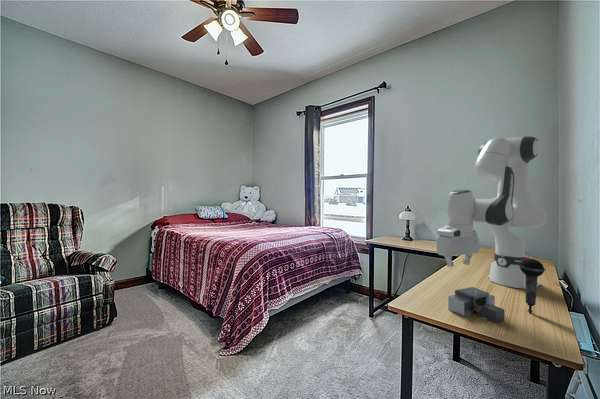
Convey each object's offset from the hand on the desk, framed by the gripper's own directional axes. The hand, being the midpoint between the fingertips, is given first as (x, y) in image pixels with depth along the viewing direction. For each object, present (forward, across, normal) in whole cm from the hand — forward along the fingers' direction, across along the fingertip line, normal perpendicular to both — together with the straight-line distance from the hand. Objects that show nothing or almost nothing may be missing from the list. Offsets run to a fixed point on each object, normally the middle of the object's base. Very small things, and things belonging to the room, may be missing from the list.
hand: (458, 265), depth 97 cm
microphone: (+15, -18, +15) cm, 28 cm away
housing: (+15, 0, +6) cm, 16 cm away
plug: (+15, 0, +8) cm, 17 cm away
